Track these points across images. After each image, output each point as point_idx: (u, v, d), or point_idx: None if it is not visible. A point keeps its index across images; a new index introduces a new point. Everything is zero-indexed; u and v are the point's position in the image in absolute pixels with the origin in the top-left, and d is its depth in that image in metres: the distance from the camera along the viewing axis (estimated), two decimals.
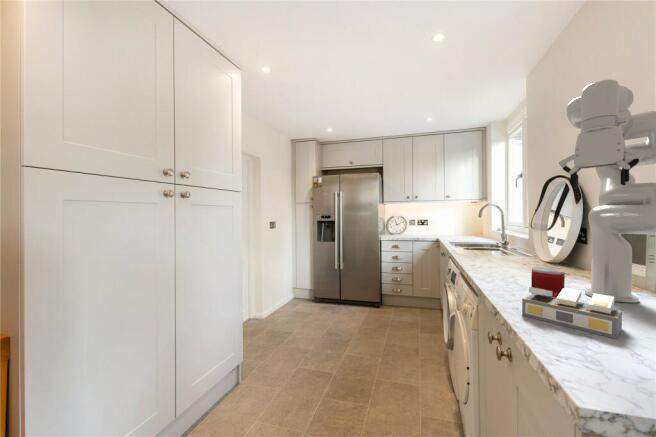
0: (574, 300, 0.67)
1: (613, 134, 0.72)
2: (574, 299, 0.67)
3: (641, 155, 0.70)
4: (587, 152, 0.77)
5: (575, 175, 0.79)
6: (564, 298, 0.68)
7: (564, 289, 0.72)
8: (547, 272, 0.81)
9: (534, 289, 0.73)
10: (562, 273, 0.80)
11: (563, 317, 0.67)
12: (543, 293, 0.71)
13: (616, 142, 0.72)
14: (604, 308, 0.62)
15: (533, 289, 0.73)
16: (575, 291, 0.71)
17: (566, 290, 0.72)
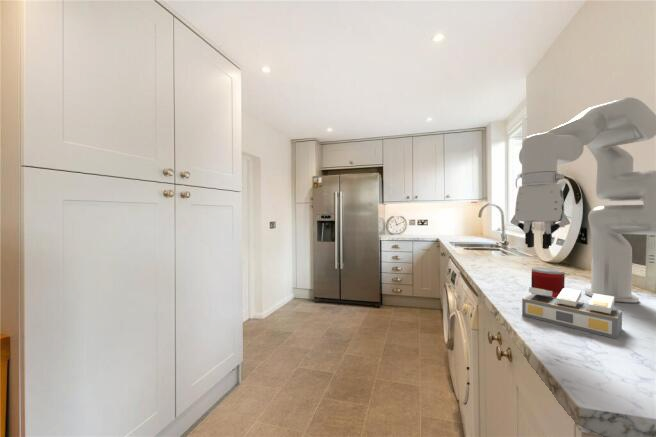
0: (574, 300, 0.67)
1: (550, 191, 0.69)
2: (574, 299, 0.67)
3: (563, 224, 0.68)
4: (526, 207, 0.73)
5: (529, 234, 0.73)
6: (564, 298, 0.68)
7: (564, 289, 0.72)
8: (547, 272, 0.81)
9: (534, 289, 0.73)
10: (562, 273, 0.80)
11: (563, 317, 0.67)
12: (543, 293, 0.71)
13: (553, 200, 0.68)
14: (604, 308, 0.62)
15: (533, 289, 0.73)
16: (575, 291, 0.71)
17: (566, 290, 0.72)
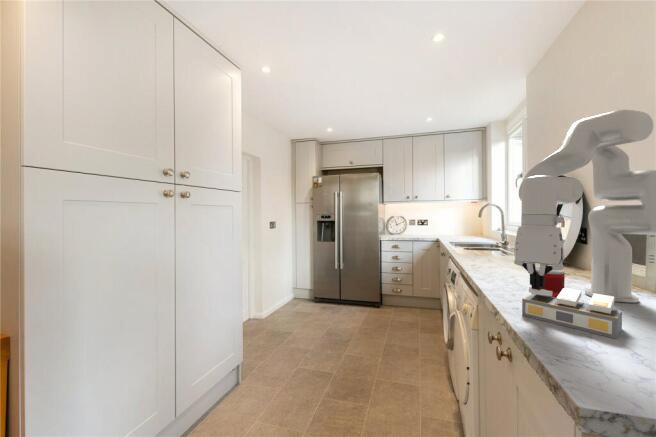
0: (574, 300, 0.67)
1: (550, 235, 0.69)
2: (574, 299, 0.67)
3: (557, 268, 0.69)
4: (526, 248, 0.73)
5: (534, 276, 0.72)
6: (564, 298, 0.68)
7: (564, 289, 0.72)
8: None
9: (534, 289, 0.73)
10: (562, 273, 0.80)
11: (563, 317, 0.67)
12: (543, 293, 0.71)
13: (552, 243, 0.68)
14: (604, 308, 0.62)
15: (533, 289, 0.73)
16: (575, 291, 0.71)
17: (566, 290, 0.72)
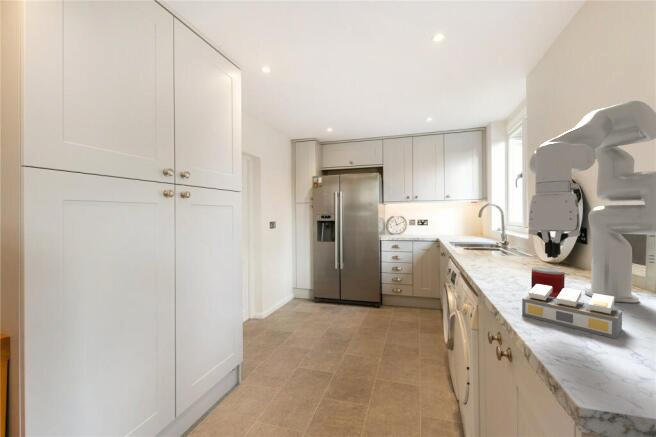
0: (574, 300, 0.67)
1: (565, 201, 0.68)
2: (574, 299, 0.67)
3: (573, 235, 0.68)
4: (540, 216, 0.73)
5: (549, 244, 0.72)
6: (564, 298, 0.68)
7: (564, 289, 0.72)
8: (547, 272, 0.81)
9: (534, 294, 0.73)
10: (562, 273, 0.80)
11: (563, 317, 0.67)
12: (543, 298, 0.71)
13: (568, 209, 0.68)
14: (604, 308, 0.62)
15: (533, 294, 0.73)
16: (575, 291, 0.71)
17: (566, 290, 0.72)
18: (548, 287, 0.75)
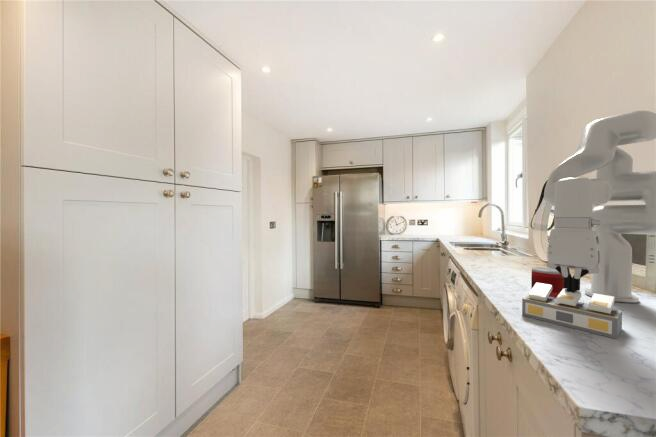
0: (574, 300, 0.67)
1: (586, 238, 0.68)
2: (574, 299, 0.67)
3: (593, 272, 0.68)
4: (560, 251, 0.72)
5: (569, 279, 0.71)
6: (564, 297, 0.68)
7: (564, 289, 0.73)
8: (547, 272, 0.81)
9: (534, 296, 0.73)
10: None
11: (563, 317, 0.67)
12: (543, 300, 0.71)
13: (589, 246, 0.67)
14: (604, 308, 0.62)
15: (533, 296, 0.73)
16: (575, 291, 0.71)
17: (566, 290, 0.72)
18: (548, 286, 0.75)
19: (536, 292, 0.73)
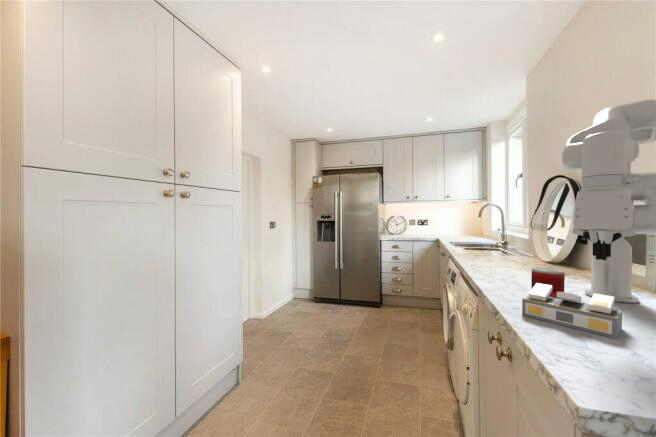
0: (574, 294, 0.67)
1: (619, 197, 0.61)
2: (574, 294, 0.67)
3: (627, 235, 0.61)
4: (588, 214, 0.65)
5: (599, 245, 0.64)
6: (564, 292, 0.68)
7: None
8: (547, 272, 0.81)
9: (534, 295, 0.73)
10: (562, 273, 0.80)
11: (563, 317, 0.67)
12: (543, 299, 0.71)
13: (623, 206, 0.61)
14: (604, 308, 0.62)
15: (533, 295, 0.73)
16: None
17: None
18: (548, 286, 0.75)
19: (536, 292, 0.73)
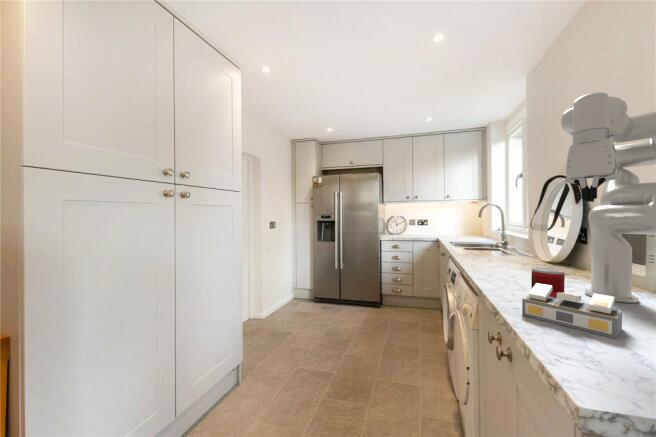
0: (574, 295, 0.67)
1: (604, 147, 0.74)
2: (574, 295, 0.67)
3: (610, 178, 0.74)
4: (578, 164, 0.78)
5: (587, 189, 0.77)
6: (564, 293, 0.68)
7: None
8: (547, 272, 0.81)
9: (534, 295, 0.73)
10: (562, 273, 0.80)
11: (563, 317, 0.67)
12: (543, 299, 0.71)
13: (606, 154, 0.73)
14: (604, 308, 0.62)
15: (533, 295, 0.73)
16: None
17: (566, 293, 0.72)
18: (548, 287, 0.75)
19: (536, 292, 0.73)
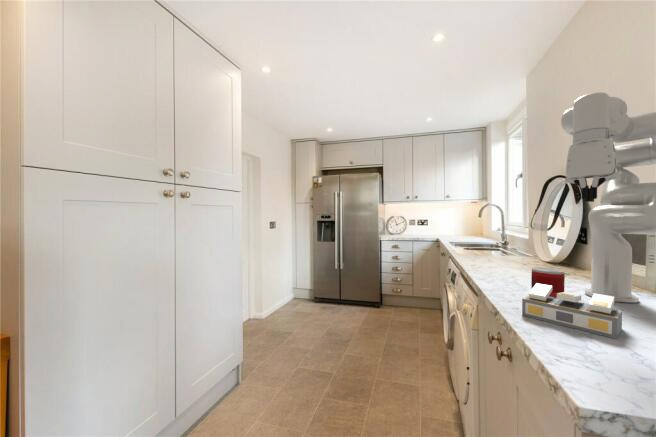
0: (574, 296, 0.67)
1: (604, 147, 0.74)
2: (574, 296, 0.67)
3: (610, 178, 0.74)
4: (578, 164, 0.78)
5: (587, 189, 0.77)
6: (564, 294, 0.68)
7: (564, 292, 0.73)
8: (547, 272, 0.81)
9: (534, 295, 0.73)
10: (562, 273, 0.80)
11: (563, 317, 0.67)
12: (543, 299, 0.71)
13: (606, 154, 0.73)
14: (604, 308, 0.62)
15: (533, 295, 0.73)
16: (575, 294, 0.71)
17: (566, 293, 0.72)
18: (548, 287, 0.75)
19: (536, 291, 0.73)
